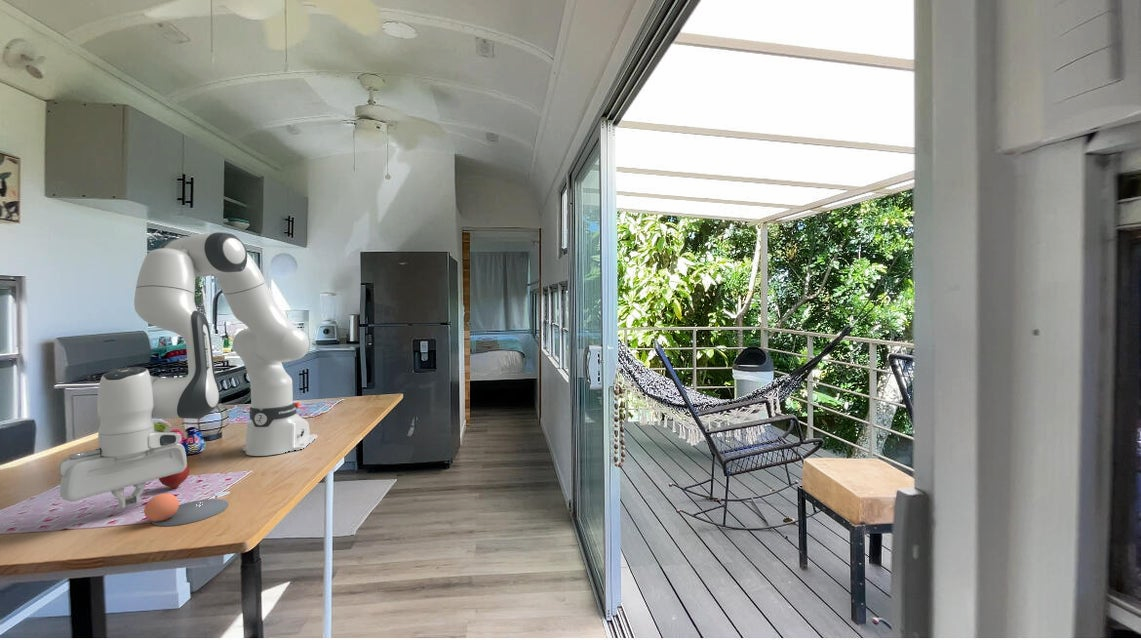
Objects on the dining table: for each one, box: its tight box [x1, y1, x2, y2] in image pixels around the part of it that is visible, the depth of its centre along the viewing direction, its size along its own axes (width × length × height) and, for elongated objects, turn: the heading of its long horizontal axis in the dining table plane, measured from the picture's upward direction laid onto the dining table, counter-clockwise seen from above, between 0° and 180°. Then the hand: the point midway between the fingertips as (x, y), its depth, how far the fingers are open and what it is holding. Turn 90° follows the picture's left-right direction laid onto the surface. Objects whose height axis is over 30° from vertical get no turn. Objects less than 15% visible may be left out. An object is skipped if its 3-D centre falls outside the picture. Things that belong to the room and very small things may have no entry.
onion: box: [158, 464, 190, 489], centre depth 115 cm, size 6×6×8 cm
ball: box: [143, 493, 180, 522], centre depth 97 cm, size 6×6×6 cm
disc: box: [151, 498, 229, 527], centre depth 101 cm, size 13×13×1 cm
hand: (129, 505), depth 101 cm, fingers closed
